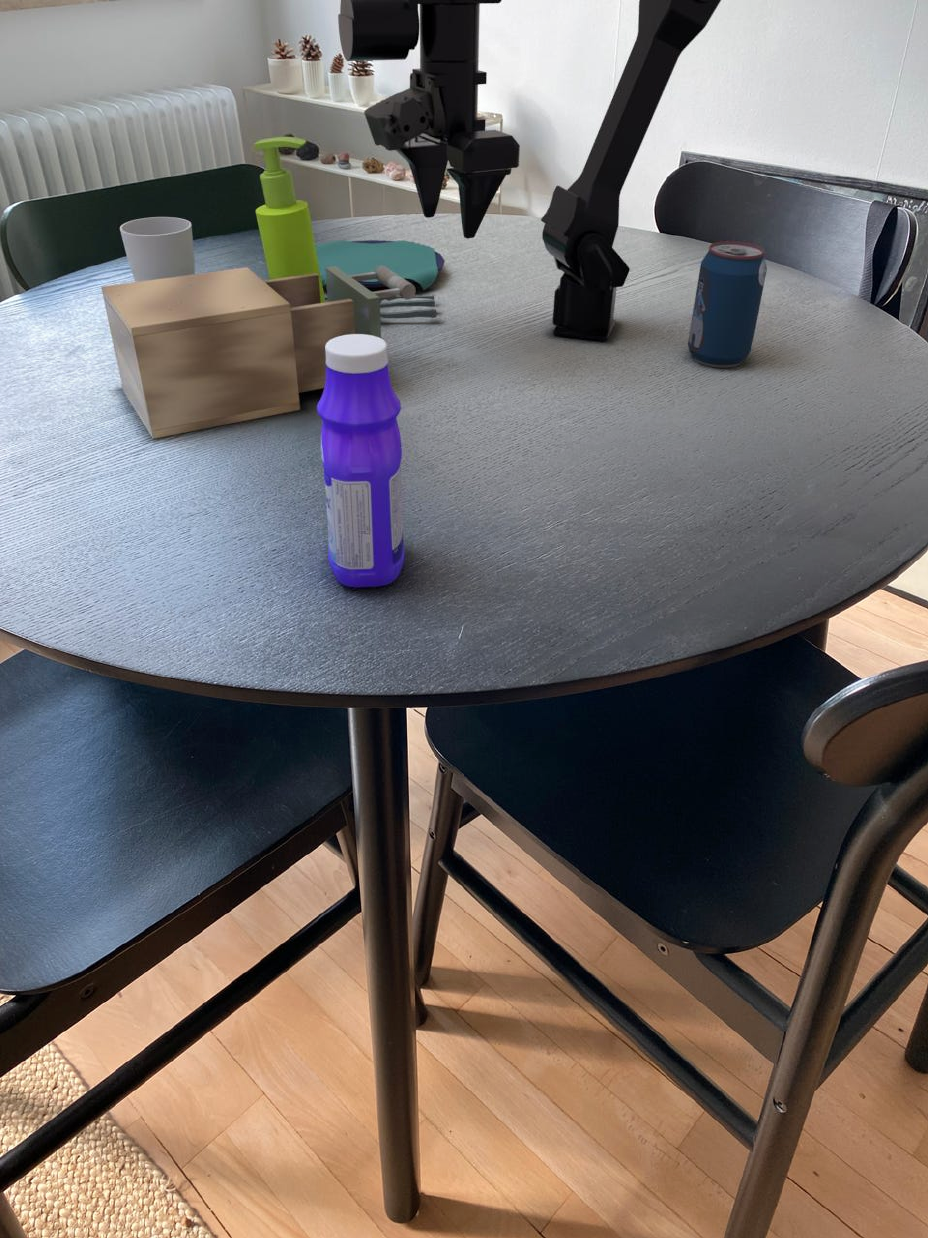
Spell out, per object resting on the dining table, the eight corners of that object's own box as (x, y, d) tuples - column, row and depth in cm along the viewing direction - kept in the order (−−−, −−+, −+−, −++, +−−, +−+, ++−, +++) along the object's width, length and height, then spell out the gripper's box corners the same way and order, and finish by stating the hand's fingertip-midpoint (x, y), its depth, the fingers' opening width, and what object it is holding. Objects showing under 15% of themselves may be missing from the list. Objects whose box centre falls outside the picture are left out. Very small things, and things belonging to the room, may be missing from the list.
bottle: (331, 543, 75) (313, 324, 64) (403, 540, 75) (397, 323, 65) (328, 596, 69) (308, 365, 58) (406, 593, 69) (400, 364, 59)
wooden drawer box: (259, 366, 103) (247, 266, 97) (300, 409, 95) (290, 303, 88) (122, 390, 98) (100, 286, 91) (152, 439, 89) (130, 327, 83)
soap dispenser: (327, 330, 111) (294, 143, 99) (272, 331, 112) (232, 146, 100) (342, 311, 115) (312, 130, 103) (289, 312, 117) (253, 134, 104)
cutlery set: (441, 253, 139) (441, 236, 137) (453, 325, 115) (453, 306, 113) (304, 253, 137) (302, 237, 136) (286, 326, 113) (285, 307, 112)
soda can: (759, 358, 107) (782, 248, 100) (728, 375, 103) (749, 261, 96) (706, 342, 111) (725, 235, 104) (674, 358, 107) (690, 247, 100)
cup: (216, 304, 119) (204, 220, 113) (180, 325, 113) (166, 238, 107) (160, 296, 121) (146, 214, 115) (122, 316, 115) (105, 230, 109)
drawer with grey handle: (381, 339, 108) (378, 258, 103) (426, 374, 100) (425, 288, 95) (222, 366, 101) (210, 281, 95) (257, 406, 93) (245, 316, 87)
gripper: (335, 51, 96) (344, 214, 105) (416, 75, 82) (419, 259, 92) (434, 47, 100) (434, 204, 109) (526, 68, 87) (518, 245, 96)
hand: (448, 226), depth 101 cm, fingers open, 9 cm apart
